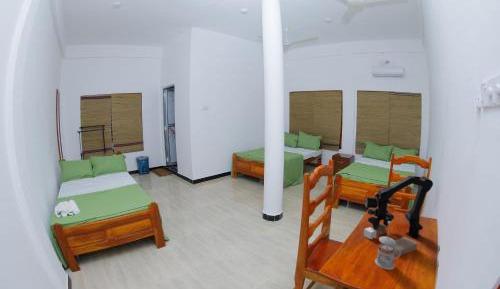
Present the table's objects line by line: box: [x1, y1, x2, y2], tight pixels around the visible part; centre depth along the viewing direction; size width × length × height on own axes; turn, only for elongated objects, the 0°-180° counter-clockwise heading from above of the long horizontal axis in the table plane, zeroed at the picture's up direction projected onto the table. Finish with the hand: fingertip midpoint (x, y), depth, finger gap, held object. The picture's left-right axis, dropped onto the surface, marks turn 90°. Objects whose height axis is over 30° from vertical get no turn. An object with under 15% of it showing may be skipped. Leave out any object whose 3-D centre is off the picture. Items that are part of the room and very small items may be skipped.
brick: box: [391, 236, 418, 257], centre depth 155 cm, size 17×8×5 cm, turn 114°
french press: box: [374, 221, 401, 270], centre depth 139 cm, size 10×12×25 cm
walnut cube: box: [376, 222, 387, 235], centre depth 174 cm, size 5×5×5 cm
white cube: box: [363, 226, 377, 240], centre depth 168 cm, size 5×5×5 cm
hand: (379, 230), depth 174 cm, fingers open, 9 cm apart
